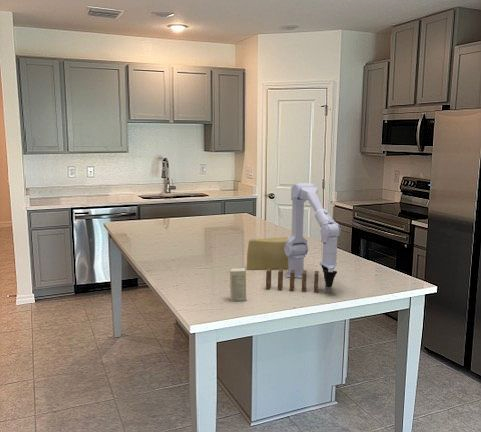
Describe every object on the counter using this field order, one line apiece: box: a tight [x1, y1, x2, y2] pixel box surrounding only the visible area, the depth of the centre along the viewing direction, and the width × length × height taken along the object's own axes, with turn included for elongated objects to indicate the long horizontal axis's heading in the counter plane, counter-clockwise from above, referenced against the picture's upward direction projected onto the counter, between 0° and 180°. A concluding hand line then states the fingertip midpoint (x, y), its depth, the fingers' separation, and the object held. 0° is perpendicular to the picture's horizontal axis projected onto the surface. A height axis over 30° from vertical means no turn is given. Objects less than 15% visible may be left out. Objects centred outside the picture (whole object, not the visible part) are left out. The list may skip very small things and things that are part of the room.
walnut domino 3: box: [289, 269, 296, 292], centre depth 204 cm, size 2×5×8 cm, turn 170°
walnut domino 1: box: [265, 268, 272, 291], centre depth 205 cm, size 2×5×8 cm, turn 170°
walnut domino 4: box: [301, 269, 308, 293], centre depth 203 cm, size 2×5×8 cm, turn 169°
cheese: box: [246, 236, 289, 271], centre depth 235 cm, size 22×10×15 cm, turn 104°
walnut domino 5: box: [313, 270, 320, 294], centre depth 202 cm, size 2×5×8 cm, turn 170°
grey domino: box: [324, 279, 332, 295], centre depth 201 cm, size 2×5×8 cm, turn 158°
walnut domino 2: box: [277, 269, 284, 292], centre depth 204 cm, size 2×5×8 cm, turn 169°
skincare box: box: [229, 267, 247, 302], centre depth 190 cm, size 6×4×12 cm
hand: (328, 284), depth 201 cm, fingers open, 6 cm apart
